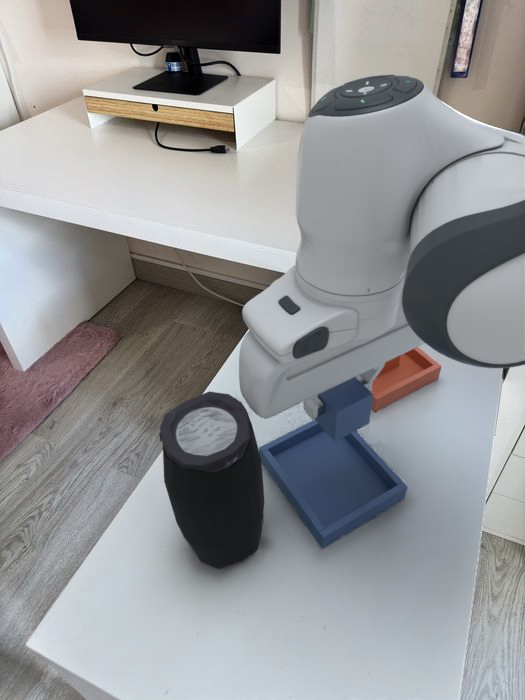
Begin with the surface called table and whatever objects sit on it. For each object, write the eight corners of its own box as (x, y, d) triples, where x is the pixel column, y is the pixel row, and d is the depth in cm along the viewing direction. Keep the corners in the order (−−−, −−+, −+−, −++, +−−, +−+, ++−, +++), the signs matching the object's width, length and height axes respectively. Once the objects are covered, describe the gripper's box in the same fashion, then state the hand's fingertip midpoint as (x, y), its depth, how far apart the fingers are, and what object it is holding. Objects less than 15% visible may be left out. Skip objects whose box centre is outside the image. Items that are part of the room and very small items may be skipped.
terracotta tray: (438, 378, 72) (441, 366, 70) (374, 411, 68) (376, 399, 66) (376, 327, 81) (378, 314, 79) (316, 353, 77) (317, 341, 75)
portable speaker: (171, 556, 54) (130, 447, 41) (215, 487, 61) (192, 373, 47) (240, 592, 51) (220, 486, 38) (279, 516, 57) (274, 401, 44)
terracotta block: (398, 366, 73) (403, 343, 70) (374, 377, 72) (378, 355, 69) (378, 348, 76) (382, 325, 73) (355, 359, 75) (357, 336, 72)
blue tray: (404, 498, 58) (408, 486, 57) (322, 549, 54) (323, 538, 53) (334, 420, 67) (335, 408, 66) (259, 459, 63) (258, 447, 62)
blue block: (369, 423, 52) (373, 393, 49) (334, 442, 51) (336, 412, 48) (343, 397, 55) (345, 367, 52) (309, 414, 54) (309, 384, 51)
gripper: (415, 240, 48) (395, 346, 57) (224, 313, 41) (236, 421, 50) (465, 271, 44) (435, 380, 53) (262, 359, 37) (268, 467, 46)
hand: (337, 401), depth 52 cm, fingers closed on blue block, 4 cm apart
